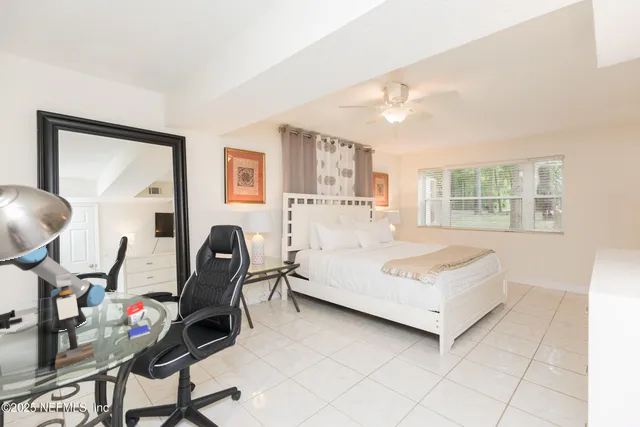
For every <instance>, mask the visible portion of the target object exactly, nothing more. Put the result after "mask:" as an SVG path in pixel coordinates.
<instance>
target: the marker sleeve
mask: <svg viewBox="0 0 640 427" xmlns="http://www.w3.org/2000/svg"><path fill="white" fill-rule="evenodd" d="M57 307H58V314H59V320H62V319H65V318H69V317H73V316H77V315H78V307H77V301H76V294H74V295H70V297H68V298H64V299H63V298H62V297H60V298H57Z"/></svg>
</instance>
